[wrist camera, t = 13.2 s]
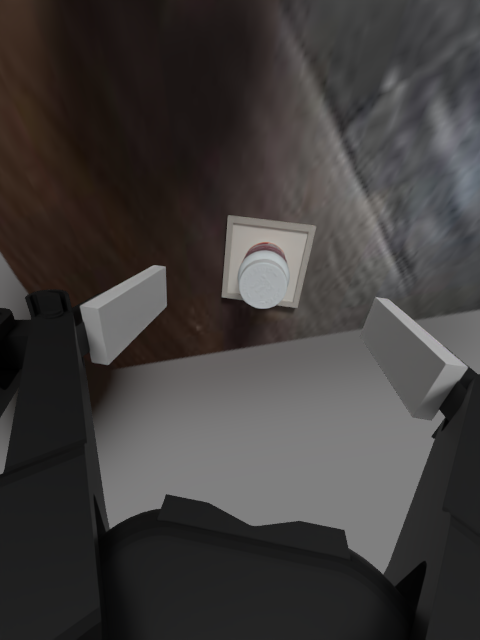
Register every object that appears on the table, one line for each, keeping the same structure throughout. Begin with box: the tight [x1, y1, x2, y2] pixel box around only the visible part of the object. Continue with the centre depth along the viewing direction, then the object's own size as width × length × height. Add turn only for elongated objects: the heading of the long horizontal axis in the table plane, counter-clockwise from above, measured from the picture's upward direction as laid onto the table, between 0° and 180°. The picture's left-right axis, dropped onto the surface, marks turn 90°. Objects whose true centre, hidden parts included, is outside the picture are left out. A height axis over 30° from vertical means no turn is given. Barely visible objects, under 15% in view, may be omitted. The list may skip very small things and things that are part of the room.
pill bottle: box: [238, 242, 290, 309], centre depth 30 cm, size 6×6×11 cm
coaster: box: [222, 215, 316, 308], centre depth 36 cm, size 12×12×1 cm
